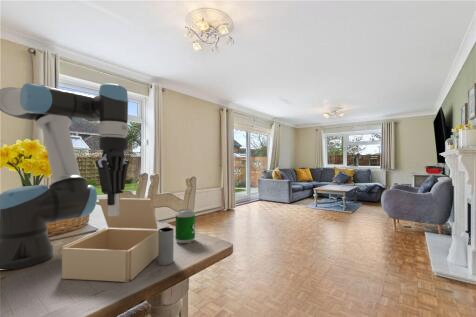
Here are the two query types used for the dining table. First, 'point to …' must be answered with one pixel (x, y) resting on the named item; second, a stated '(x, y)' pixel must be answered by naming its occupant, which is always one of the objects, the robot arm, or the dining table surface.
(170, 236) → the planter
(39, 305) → the dining table surface
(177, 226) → the soda can
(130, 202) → the flap
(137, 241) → the carton
